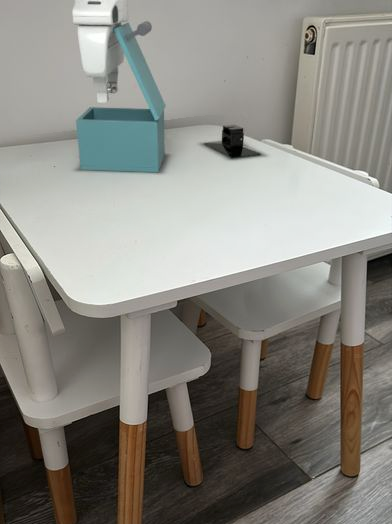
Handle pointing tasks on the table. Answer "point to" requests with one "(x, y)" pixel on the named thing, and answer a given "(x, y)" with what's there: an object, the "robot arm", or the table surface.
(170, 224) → the table surface
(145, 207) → the table surface
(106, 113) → the box
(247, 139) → the table surface
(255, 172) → the table surface
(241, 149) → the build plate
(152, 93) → the freezer lid
